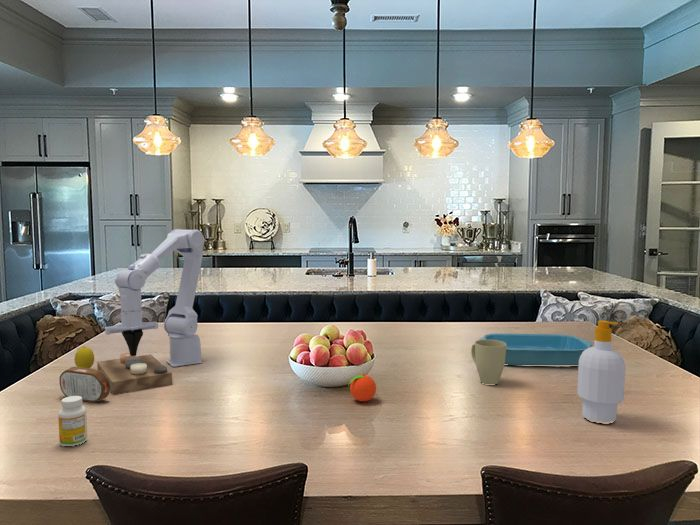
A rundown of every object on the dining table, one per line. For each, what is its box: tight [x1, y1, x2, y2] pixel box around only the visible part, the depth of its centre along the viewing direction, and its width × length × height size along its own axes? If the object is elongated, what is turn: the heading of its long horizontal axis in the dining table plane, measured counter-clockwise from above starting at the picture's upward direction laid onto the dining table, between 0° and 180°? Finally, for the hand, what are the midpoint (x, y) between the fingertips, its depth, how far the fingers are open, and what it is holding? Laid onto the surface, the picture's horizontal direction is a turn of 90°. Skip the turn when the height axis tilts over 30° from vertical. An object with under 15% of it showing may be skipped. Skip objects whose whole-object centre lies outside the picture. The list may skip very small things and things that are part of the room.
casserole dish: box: [478, 332, 594, 365], centre depth 185 cm, size 37×22×7 cm, turn 85°
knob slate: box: [125, 358, 141, 369], centre depth 163 cm, size 4×4×5 cm
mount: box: [96, 353, 173, 395], centre depth 163 cm, size 16×24×5 cm, turn 34°
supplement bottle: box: [57, 396, 88, 447], centre depth 118 cm, size 5×5×10 cm
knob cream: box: [130, 363, 147, 375], centre depth 157 cm, size 4×4×5 cm
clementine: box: [347, 374, 377, 403], centre depth 145 cm, size 8×7×7 cm
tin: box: [59, 366, 111, 403], centre depth 145 cm, size 15×3×8 cm, turn 71°
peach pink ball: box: [119, 352, 137, 364], centre depth 169 cm, size 4×4×5 cm
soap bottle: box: [576, 319, 626, 422], centre depth 132 cm, size 10×10×24 cm
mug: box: [470, 339, 507, 385], centre depth 161 cm, size 11×10×12 cm
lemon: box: [74, 345, 95, 369], centre depth 170 cm, size 6×6×8 cm
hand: (133, 355), depth 163 cm, fingers closed
